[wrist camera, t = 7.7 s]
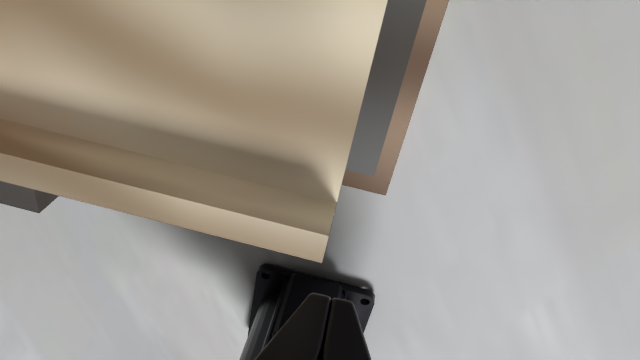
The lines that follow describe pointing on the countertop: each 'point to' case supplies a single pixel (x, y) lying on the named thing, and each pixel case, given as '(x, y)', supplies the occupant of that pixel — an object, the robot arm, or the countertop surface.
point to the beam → (189, 109)
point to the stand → (377, 106)
